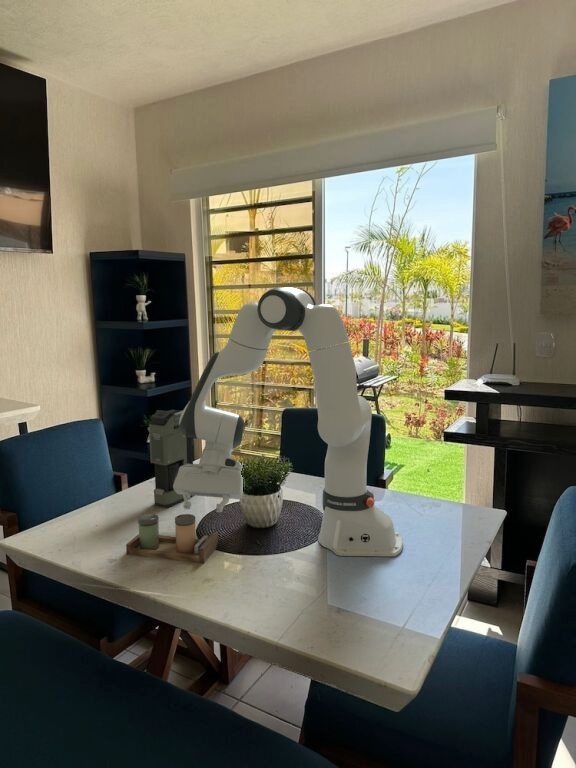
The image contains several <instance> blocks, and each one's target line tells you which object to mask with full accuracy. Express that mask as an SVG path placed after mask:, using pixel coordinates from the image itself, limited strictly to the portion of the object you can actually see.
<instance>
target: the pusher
mask: <svg viewBox="0 0 576 768" xmlns="http://www.w3.org/2000/svg"><path fill="white" fill-rule="evenodd" d="M208 538H209V536H208V535H203V536H202V537H201V538H199V539H200V540H199V542H198V543H197V544H196V545H195V546H194V547H195V555H199V548H200V547H201V546H202V545H203V544H204V542H205V541H206V540H207V539H208Z"/></svg>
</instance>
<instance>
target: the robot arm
mask: <svg viewBox="0 0 576 768" xmlns="http://www.w3.org/2000/svg"><path fill="white" fill-rule="evenodd" d="M276 331H285V332H287V331H288V332H296V331H299V333H300V334H301V335H302V337H303V338H304V339H303V340H304V342H305V346H306V350H307V354H308V359H309V363H310V366H311V370H312V374H313V380H314V385H315V395H316V396H315V397H316V398H315V399H316V408H317V417H318V420H317V431H318V435H319V437H320V438H321V439H322V440H323V442H324V443H326V444H327V449H326V456H325V460H324V487H323V490H322V497H321V499H322V500H321V501H322V503H321V504H322V505H321V506H322V511H323V512H322V513H323V514H322V522H321V526H320V530H319V534H318V537H317V541H318V542H319V544H320V545H321V546H323V547H324V548H326V549H328V550H331V552H332V553H334V554H335V555H337V556H339V557H396V556H398V555H399V554H401V552H402V550H403V548H404V543H403V537H402V535H401V534H400V533H399V532H398V531H395V527H394V523H393V520H392V517H390V515H389V514H387V513H385V511H383V510H382V509H380V507H378V506H377V505H375V502H376V501H375V495H374V491H373V490H371V492H370V490H369V489H367V466H368V465H367V464H368V455H369V447H370V439H371V438H370V437H371V430H372V429H371V428H372V417H373V416H372V415H373V411H372V410H373V409H372V406H371V403H370V402H369V401H368V400H367V399H366V398H365V397H363V396H361V395H359V392H358V384H357V383H358V381H357V367H356V364H355V359H354V355H353V352H352V348H351V343H350V339H349V336H348V332H347V330H346V326H345V324H344V321H343V319H342V316H341V314H340V312H339V310H338V308H336V307H335V306H334V305H332V304H327V303H322V304H321V303H320V304H317V302H316V300H315V298H314V296H313V295H312V294H311V293H310V292H309V291H307V290H305V289H302V288H295V287H291V286H287V287H286V286H283V287H273V288H271V289H269V290H267V291H265V292H264V293H263V294H262V295H261V296H260V298H259V300H258V302H253V301H252V302H248V303H245V304H243V305H242V307H241V308H240V310H239V311H238V314H237V315H236V318H235V320H234V323H233V325H232V326H231V330H230V334H229V337H228V340H227V342H226V344H225V346H224V347H223V348H222V349H221V350H220V351H216V352H214V353H213V354H212V355H211V357H210V358H209V359H208V362H207V364H206V366H205V368H204V370H203V371H202V373H201V376H200V377H199V379H198V382H197V384H196V386H195V388H194V390H193V393H192V394H191V395H192V396H191V397H190V400H189V401H188V403H187V404H186V405H185V407H184V408H183V412H182V414H181V416H180V420H179V428H180V430H181V431H182V433H183V434H184V435H185V436H186V437H189V438H192V439H196V440H197V439H198V440H202V441H205V445H204V448H203V449H202V452H201V454H200V457H199V458H200V459H199V462H198V463H193V464H188V463H187V464H185V465H182V466H181V467H180V468H179V471H178V475H177V477H176V479H175V482H174V484H173V488H174V490H175V492H176V493H177V494H182V495H183V498H184V501H183V502H184V504H183V509H184V510H191V507H192V503H191V501H190V500H189V499H190V495H194V496H193V497H195V496H196V497H206V498H207V497H210V498H217V499H218V498H219V499H220V498H221V499H222V500H221V502H219V503H216V507H215V512H217V513H222V512H223V510H224V507H225V506H226V505H227V504H228V503H229V501H230V499H232V500H240V499H241V498H242V497H243V495H244V492H243V479H244V476H243V477H242V475H241V471H242V468H243V469H244V467H243V466H242V464H241V462H240V461H238V460H236V459H233V458H232V453H233V450H235V449H236V448H237V447H239V446H240V445H241V444H242V441H243V433H244V431H245V429H246V422H245V420H244V418H243V417H242V416H241V414H238V413H235V412H232V411H229V410H225V409H219V408H216V407H213V406H209V405H207V404H206V403H205V401H206V400H207V397H208V395H209V393H210V392H211V391H210V390H211V389H212V388H213V385H214V383H215V382H216V381H217V380H218V379H221V378H224V377H230V376H231V377H233V376H240V375H241V376H242V375H243V376H244V375H247V374H251V373H253V372H255V371H256V370H258V369H259V368H261V366H262V365H263V363H264V361H265V359H266V356H267V353H268V350H269V347H270V343H271V340H272V337H273V334H274V333H275V332H276ZM188 498H189V499H188Z"/></svg>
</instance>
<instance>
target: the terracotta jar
mask: <svg viewBox="0 0 576 768" xmlns="http://www.w3.org/2000/svg"><path fill="white" fill-rule="evenodd" d="M196 522H197V521H196V516H195V515H194V514H189V513H185V514H184V513H183V514H179V515H177V516H175V517H174V527H175V537H176V553H185V554H194V553H195V547H194V546H195V545H196V539H197V537H196Z"/></svg>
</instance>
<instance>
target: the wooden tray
mask: <svg viewBox="0 0 576 768" xmlns="http://www.w3.org/2000/svg"><path fill="white" fill-rule="evenodd" d="M200 539H201V538H196V544H197V543H198V542H199V540H200ZM218 547H219V532H217V531H213V532H212V533H211V534H210V536H208V539H207V540H206V541H205V542H204V544H203V545H202V546H201V547H200V548H199V555H195V553H194V554H185V553H176V536H171V535H161V534H159V548H158V549H157V550H148V549H140V544H139V533H138V534H136V536H134V537H133V538H131V540H130V541H128V542H127V543H126V546H125V548H126V556H128V555H129V556H135V557H146V558H153V559H163V560H170V561H180V562H189V563H196V564H197V563H198V564H205V563H206V562H207V560H208V559H209V558H210V557H211V556H212V554H213V553H214V552H215V551H216V549H217V548H218Z"/></svg>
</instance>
